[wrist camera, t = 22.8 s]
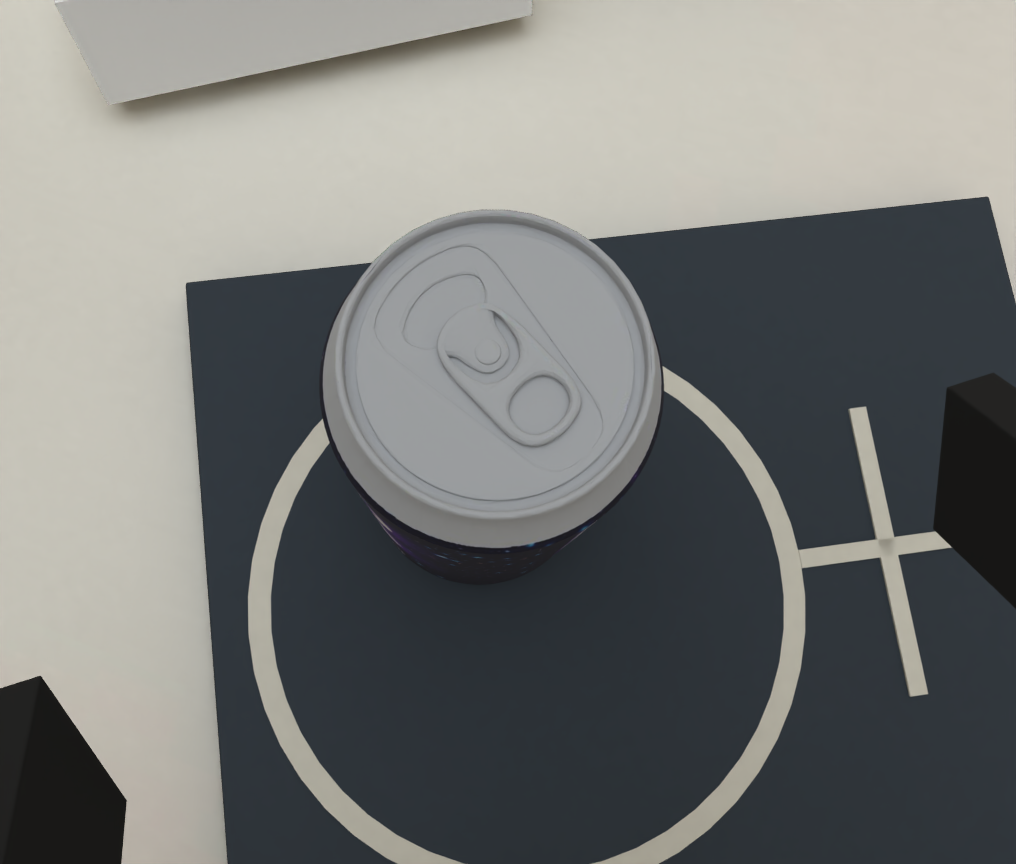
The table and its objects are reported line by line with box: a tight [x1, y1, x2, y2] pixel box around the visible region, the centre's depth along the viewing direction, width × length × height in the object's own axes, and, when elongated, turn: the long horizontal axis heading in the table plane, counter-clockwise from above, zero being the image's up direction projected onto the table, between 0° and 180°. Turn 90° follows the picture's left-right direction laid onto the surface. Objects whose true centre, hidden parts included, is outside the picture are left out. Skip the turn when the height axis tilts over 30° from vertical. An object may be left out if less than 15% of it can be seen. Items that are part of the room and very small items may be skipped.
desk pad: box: [186, 197, 1016, 864], centre depth 26 cm, size 24×20×1 cm
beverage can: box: [319, 210, 664, 585], centre depth 20 cm, size 6×6×12 cm
